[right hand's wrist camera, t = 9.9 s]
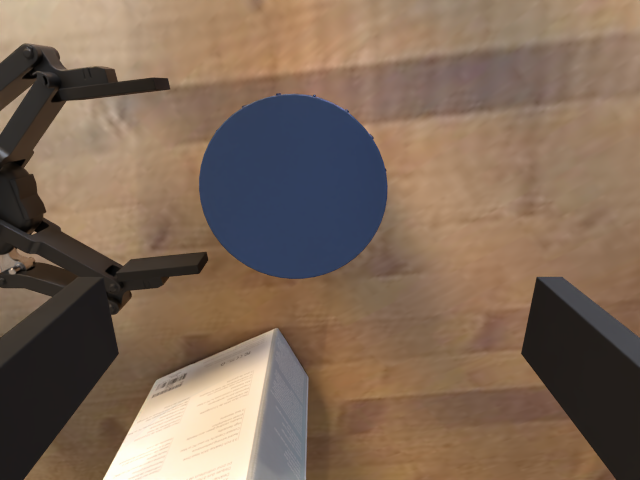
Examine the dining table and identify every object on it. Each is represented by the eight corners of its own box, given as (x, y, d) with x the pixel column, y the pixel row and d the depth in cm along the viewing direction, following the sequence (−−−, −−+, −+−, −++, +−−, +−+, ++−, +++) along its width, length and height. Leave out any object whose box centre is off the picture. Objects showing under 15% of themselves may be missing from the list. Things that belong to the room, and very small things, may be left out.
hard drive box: (193, 426, 48) (109, 646, 29) (155, 378, 45) (36, 583, 27) (312, 377, 45) (305, 584, 26) (278, 323, 43) (244, 507, 24)
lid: (375, 270, 26) (379, 283, 24) (211, 263, 26) (203, 276, 24) (392, 98, 22) (398, 98, 20) (201, 89, 22) (191, 89, 20)
